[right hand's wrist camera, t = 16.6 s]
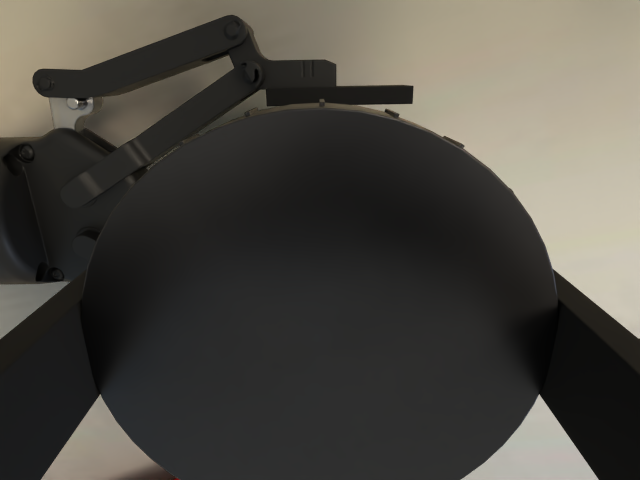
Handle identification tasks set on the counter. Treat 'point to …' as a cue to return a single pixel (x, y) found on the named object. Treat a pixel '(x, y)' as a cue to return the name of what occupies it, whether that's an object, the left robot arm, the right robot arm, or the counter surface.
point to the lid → (319, 302)
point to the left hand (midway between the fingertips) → (401, 205)
